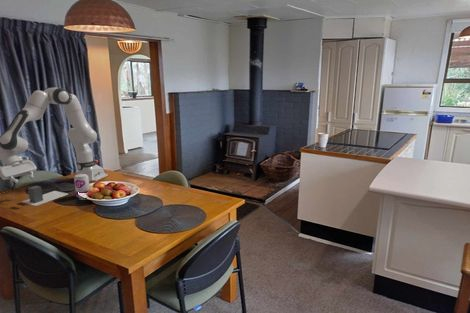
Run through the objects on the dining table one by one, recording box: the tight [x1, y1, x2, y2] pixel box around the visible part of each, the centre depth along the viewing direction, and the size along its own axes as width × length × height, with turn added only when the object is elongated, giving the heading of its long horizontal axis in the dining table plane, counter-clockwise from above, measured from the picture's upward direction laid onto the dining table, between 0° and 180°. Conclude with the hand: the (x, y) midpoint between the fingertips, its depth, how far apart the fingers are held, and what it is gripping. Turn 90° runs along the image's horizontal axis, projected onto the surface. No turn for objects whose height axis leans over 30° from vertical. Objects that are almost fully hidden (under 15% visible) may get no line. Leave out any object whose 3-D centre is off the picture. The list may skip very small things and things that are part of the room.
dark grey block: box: [27, 185, 44, 203], centre depth 199 cm, size 5×5×9 cm
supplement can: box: [73, 173, 91, 201], centre depth 208 cm, size 8×8×15 cm
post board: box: [22, 190, 69, 207], centre depth 205 cm, size 22×14×8 cm, turn 154°
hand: (25, 180), depth 201 cm, fingers open, 8 cm apart
